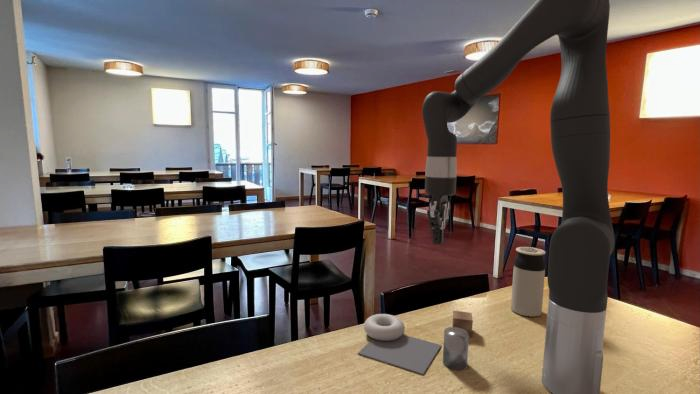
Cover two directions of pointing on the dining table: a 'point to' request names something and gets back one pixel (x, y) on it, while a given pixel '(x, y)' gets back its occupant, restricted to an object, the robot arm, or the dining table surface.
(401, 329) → the donut
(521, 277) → the travel mug
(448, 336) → the grey cylinder
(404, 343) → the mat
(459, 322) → the walnut block
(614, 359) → the dining table surface
